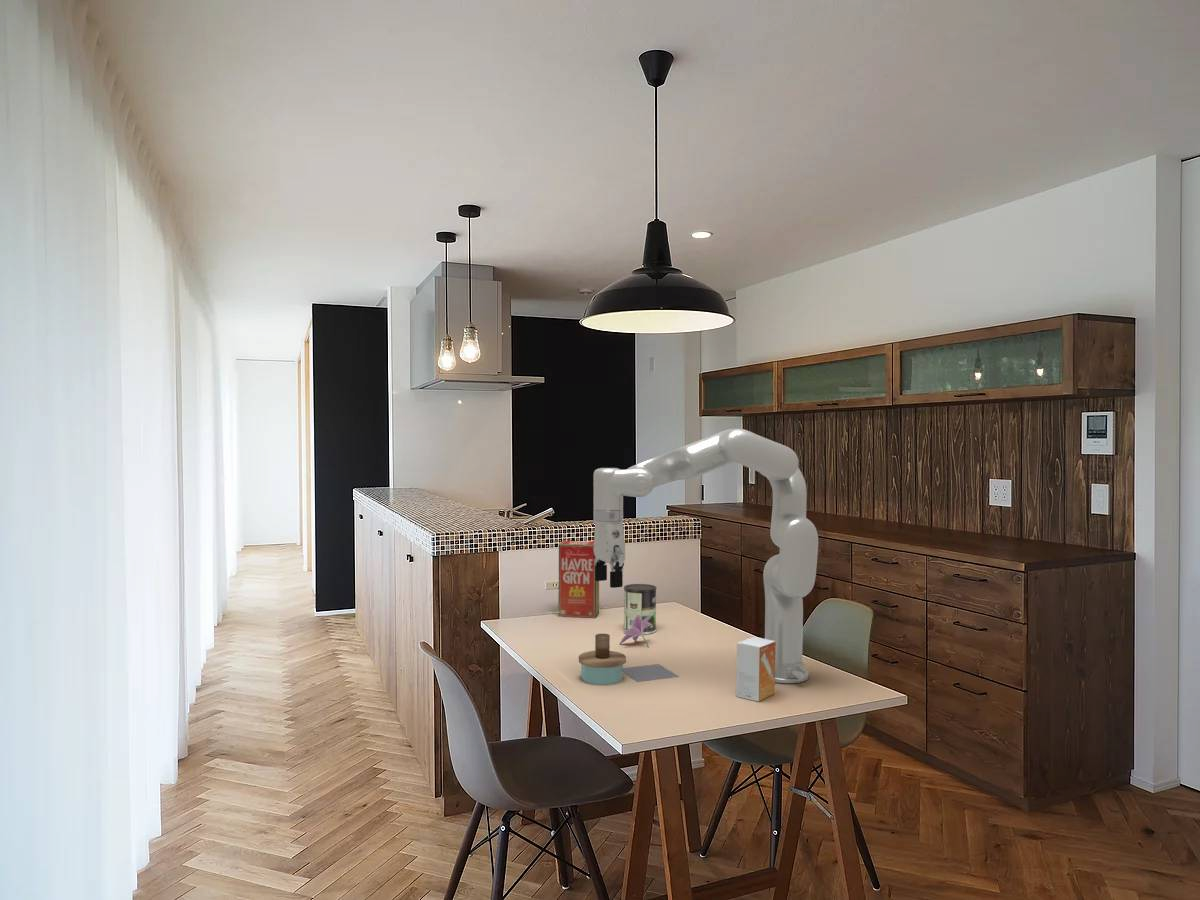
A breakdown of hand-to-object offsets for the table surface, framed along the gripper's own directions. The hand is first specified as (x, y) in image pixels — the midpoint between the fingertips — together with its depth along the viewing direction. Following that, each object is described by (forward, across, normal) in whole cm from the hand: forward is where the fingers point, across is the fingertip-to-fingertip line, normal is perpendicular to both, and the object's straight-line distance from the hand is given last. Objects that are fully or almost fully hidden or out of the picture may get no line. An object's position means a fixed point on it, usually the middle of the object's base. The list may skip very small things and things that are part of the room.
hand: (608, 583), depth 203 cm
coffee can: (+25, +42, -29) cm, 57 cm away
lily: (+25, +28, -21) cm, 43 cm away
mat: (+24, 0, -11) cm, 27 cm away
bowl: (+24, 0, +2) cm, 24 cm away
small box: (+25, -24, -28) cm, 45 cm away
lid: (+19, 0, +2) cm, 19 cm away
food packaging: (+25, +71, -20) cm, 77 cm away
